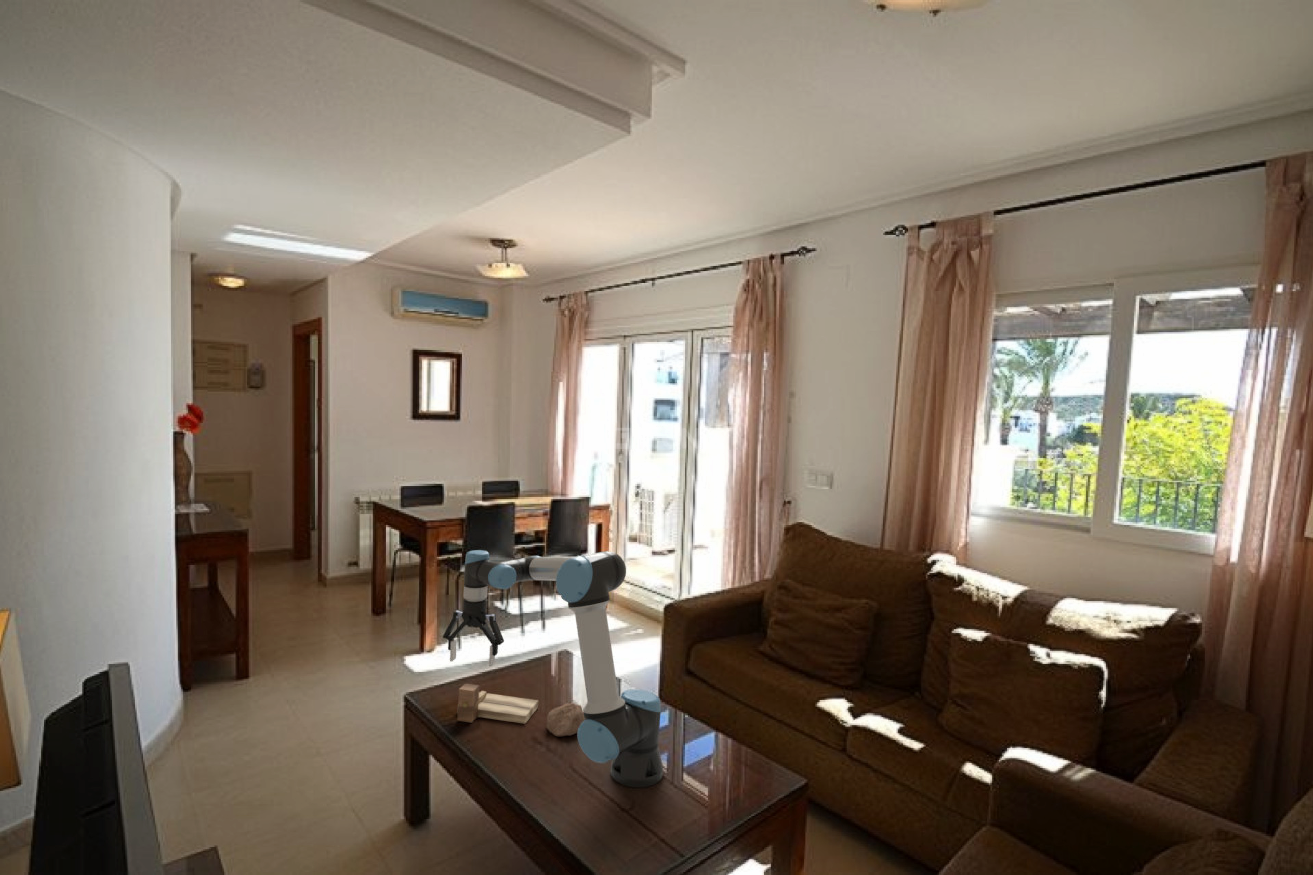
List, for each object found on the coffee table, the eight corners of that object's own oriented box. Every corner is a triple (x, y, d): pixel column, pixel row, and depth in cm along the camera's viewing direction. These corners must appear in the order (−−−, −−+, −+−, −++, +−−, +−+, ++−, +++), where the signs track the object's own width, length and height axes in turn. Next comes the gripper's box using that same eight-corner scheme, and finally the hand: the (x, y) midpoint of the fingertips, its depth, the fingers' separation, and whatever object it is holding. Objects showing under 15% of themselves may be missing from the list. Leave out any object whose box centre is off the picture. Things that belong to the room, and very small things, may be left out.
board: (525, 723, 207) (525, 715, 207) (457, 713, 211) (457, 706, 211) (538, 707, 218) (538, 700, 218) (473, 698, 222) (473, 691, 222)
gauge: (470, 723, 204) (472, 691, 204) (456, 721, 205) (458, 689, 205) (490, 703, 219) (491, 673, 218) (476, 701, 220) (478, 671, 219)
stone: (587, 735, 206) (586, 702, 211) (584, 733, 198) (583, 699, 203) (549, 739, 205) (548, 706, 210) (544, 737, 197) (544, 703, 202)
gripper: (515, 598, 208) (512, 662, 209) (445, 591, 212) (442, 653, 213) (506, 605, 201) (503, 671, 201) (434, 597, 205) (431, 661, 205)
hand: (472, 662), depth 207 cm, fingers open, 13 cm apart
